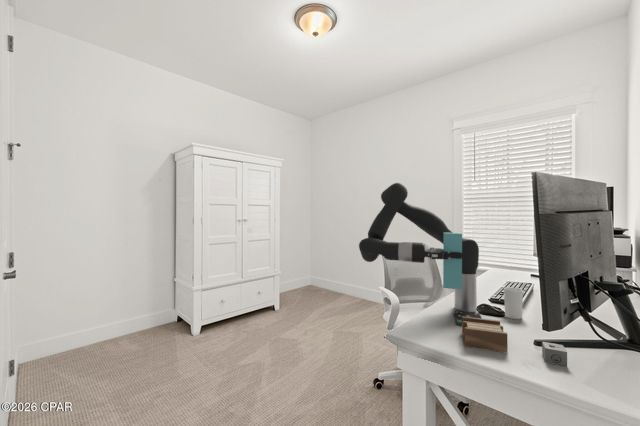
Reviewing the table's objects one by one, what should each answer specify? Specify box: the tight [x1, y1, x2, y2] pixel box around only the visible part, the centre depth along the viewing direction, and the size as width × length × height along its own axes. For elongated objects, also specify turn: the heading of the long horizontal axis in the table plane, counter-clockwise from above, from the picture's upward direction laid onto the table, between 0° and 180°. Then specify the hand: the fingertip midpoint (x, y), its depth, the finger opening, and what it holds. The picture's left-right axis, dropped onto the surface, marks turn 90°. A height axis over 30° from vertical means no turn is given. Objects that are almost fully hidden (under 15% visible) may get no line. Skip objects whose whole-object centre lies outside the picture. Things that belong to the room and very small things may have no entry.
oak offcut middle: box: [467, 323, 501, 329], centre depth 97 cm, size 2×10×6 cm, turn 68°
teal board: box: [442, 232, 463, 290], centre depth 104 cm, size 3×6×20 cm, turn 68°
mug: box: [503, 286, 524, 320], centre depth 126 cm, size 10×7×12 cm, turn 170°
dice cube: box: [541, 341, 568, 367], centre depth 86 cm, size 5×5×5 cm
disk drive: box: [453, 310, 483, 327], centre depth 118 cm, size 10×3×15 cm
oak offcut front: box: [467, 325, 504, 332], centre depth 95 cm, size 2×10×6 cm, turn 68°
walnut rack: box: [461, 316, 509, 354], centre depth 98 cm, size 12×12×7 cm
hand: (461, 254), depth 103 cm, fingers closed on teal board, 3 cm apart
